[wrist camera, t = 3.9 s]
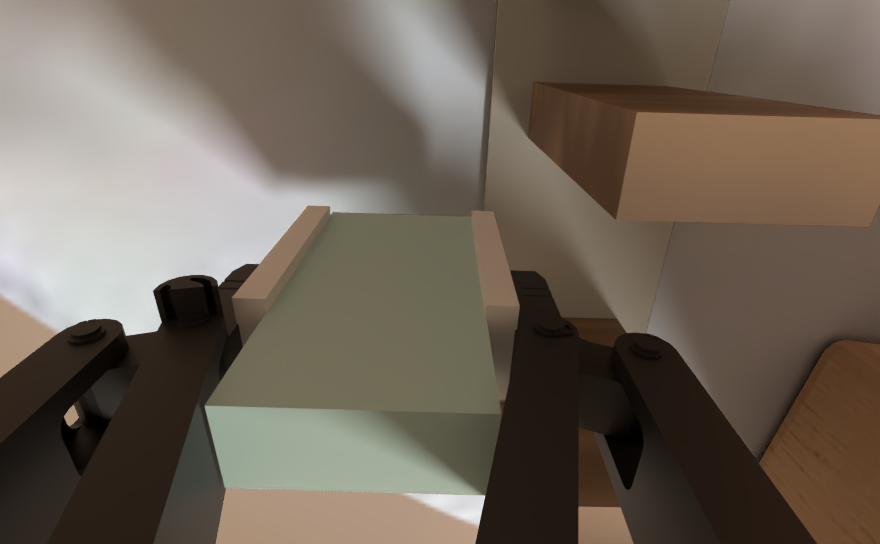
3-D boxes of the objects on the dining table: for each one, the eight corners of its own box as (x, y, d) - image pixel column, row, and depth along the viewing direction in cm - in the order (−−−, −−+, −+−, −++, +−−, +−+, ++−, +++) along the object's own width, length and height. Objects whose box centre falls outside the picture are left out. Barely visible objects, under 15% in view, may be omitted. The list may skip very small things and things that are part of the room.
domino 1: (509, 316, 22) (559, 506, 12) (617, 318, 22) (746, 509, 13) (505, 352, 22) (550, 554, 13) (609, 354, 22) (724, 558, 13)
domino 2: (533, 81, 17) (637, 112, 8) (667, 86, 17) (916, 120, 8) (527, 137, 18) (615, 220, 9) (655, 141, 18) (870, 227, 9)
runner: (512, -204, 14) (513, -210, 14) (773, -195, 14) (779, -199, 14) (465, 468, 26) (465, 473, 26) (608, 471, 26) (610, 475, 26)
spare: (332, 212, 17) (204, 405, 8) (471, 216, 17) (501, 414, 8) (336, 262, 18) (225, 488, 9) (468, 266, 18) (491, 495, 9)
